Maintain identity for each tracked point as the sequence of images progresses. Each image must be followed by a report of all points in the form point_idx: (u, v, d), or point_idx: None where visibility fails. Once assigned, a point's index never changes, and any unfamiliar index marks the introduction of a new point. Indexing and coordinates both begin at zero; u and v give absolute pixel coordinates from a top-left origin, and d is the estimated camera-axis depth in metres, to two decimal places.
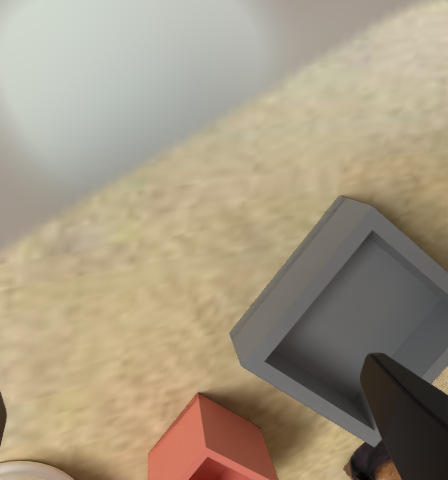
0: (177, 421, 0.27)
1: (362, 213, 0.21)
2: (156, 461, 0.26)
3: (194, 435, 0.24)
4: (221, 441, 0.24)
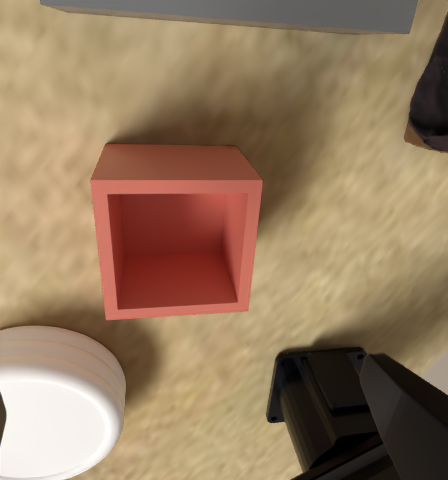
0: None
1: None
2: None
3: None
4: (134, 169, 0.14)
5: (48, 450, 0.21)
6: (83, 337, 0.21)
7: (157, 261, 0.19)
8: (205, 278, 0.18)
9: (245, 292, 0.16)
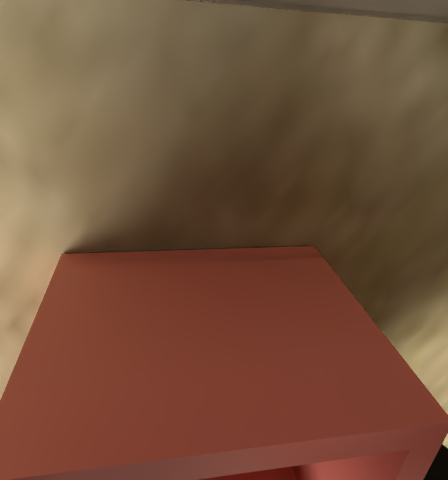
0: None
1: None
2: None
3: None
4: (110, 383, 0.05)
5: None
6: None
7: None
8: None
9: None
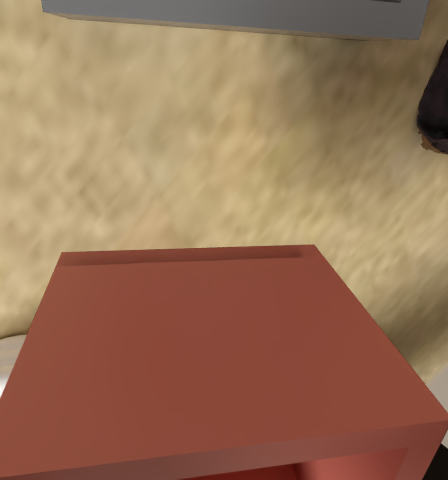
0: None
1: None
2: None
3: None
4: (110, 381, 0.05)
5: None
6: None
7: None
8: None
9: None
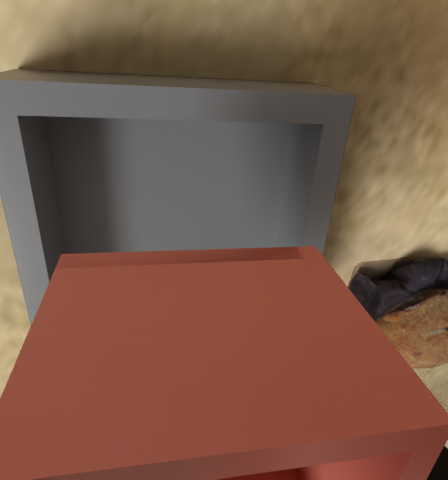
0: None
1: None
2: None
3: None
4: (110, 385, 0.05)
5: None
6: None
7: None
8: None
9: None
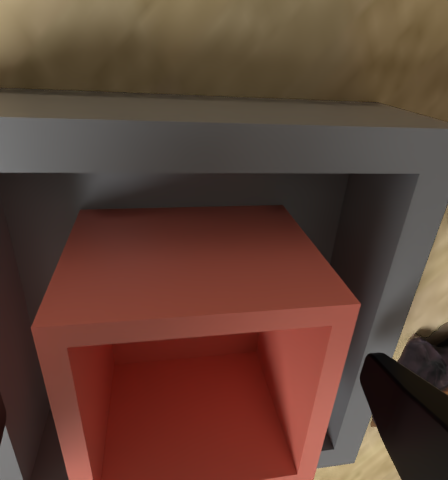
0: None
1: None
2: None
3: None
4: (122, 282, 0.08)
5: None
6: None
7: (163, 377, 0.12)
8: (239, 414, 0.11)
9: (311, 461, 0.10)
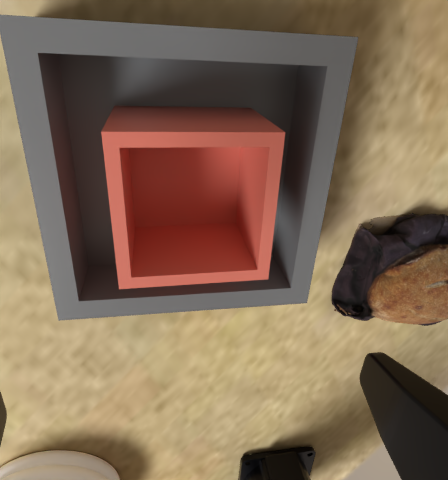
0: None
1: None
2: None
3: None
4: (147, 124, 0.13)
5: None
6: (87, 457, 0.28)
7: (170, 232, 0.18)
8: (221, 247, 0.17)
9: (265, 258, 0.15)
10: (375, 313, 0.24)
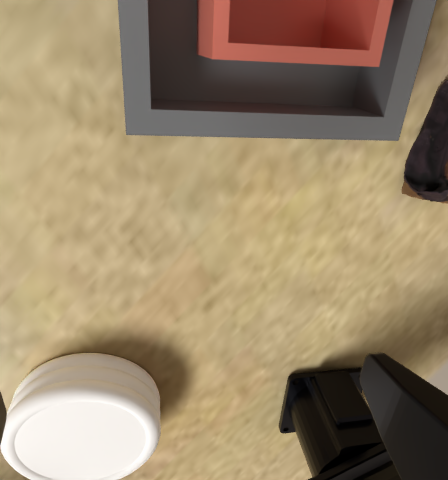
0: None
1: None
2: (201, 27, 0.15)
3: None
4: None
5: (97, 457, 0.25)
6: (127, 362, 0.25)
7: None
8: None
9: (380, 33, 0.13)
10: None
